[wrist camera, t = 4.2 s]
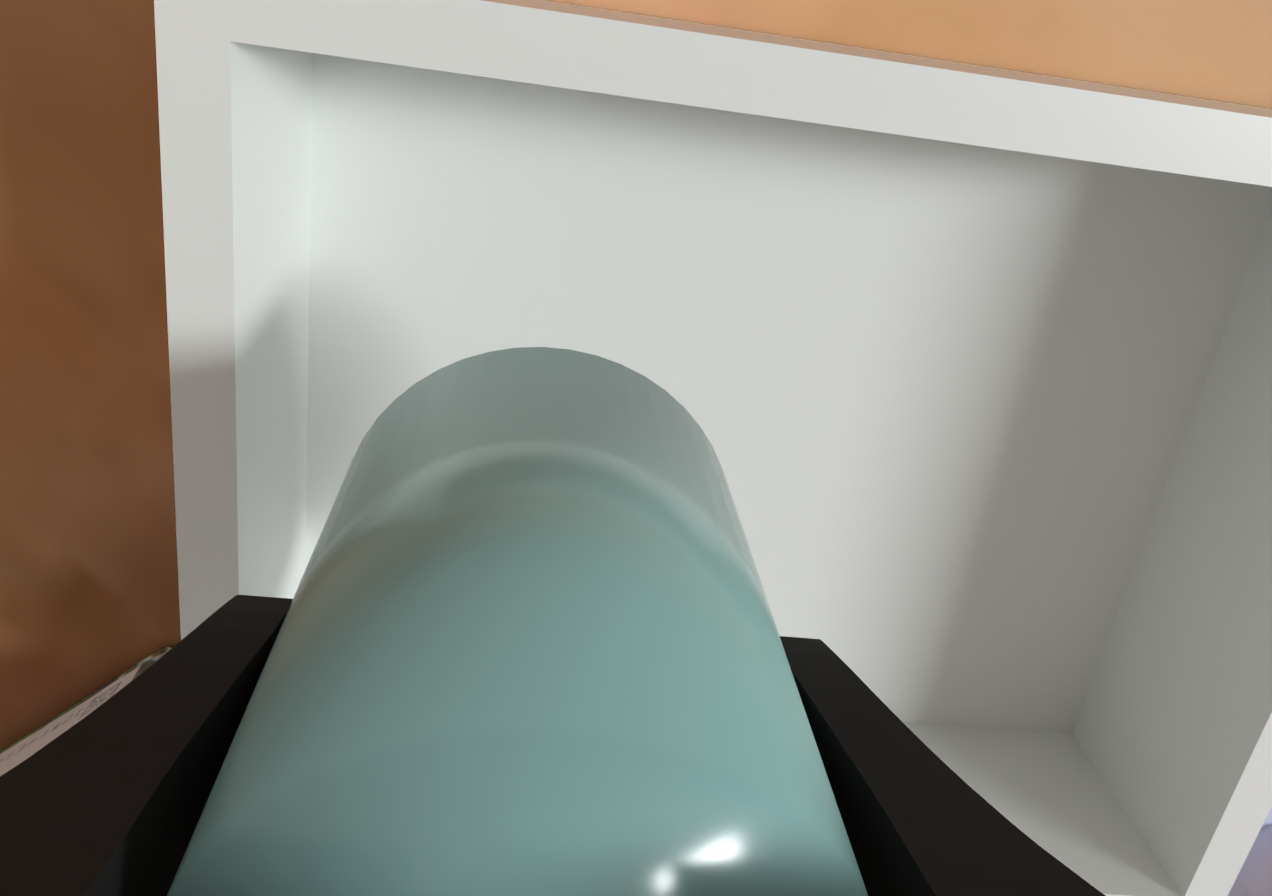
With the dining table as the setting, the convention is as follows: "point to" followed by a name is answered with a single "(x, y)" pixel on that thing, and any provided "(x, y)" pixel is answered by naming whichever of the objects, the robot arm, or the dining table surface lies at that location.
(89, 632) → the dining table surface
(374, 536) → the teal canister
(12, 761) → the syrup box
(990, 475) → the grey tote
